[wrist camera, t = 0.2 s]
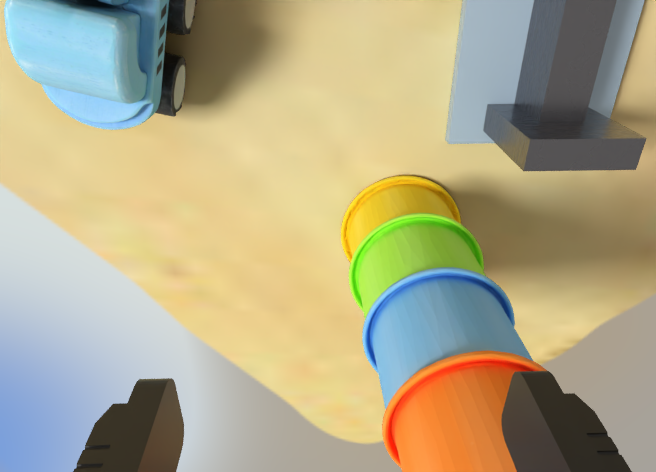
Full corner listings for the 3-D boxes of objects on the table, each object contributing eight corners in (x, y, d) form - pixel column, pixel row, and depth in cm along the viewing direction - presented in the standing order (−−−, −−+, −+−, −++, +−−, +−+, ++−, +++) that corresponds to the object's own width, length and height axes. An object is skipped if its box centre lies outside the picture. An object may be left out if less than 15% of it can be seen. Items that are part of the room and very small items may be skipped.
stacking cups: (315, 226, 41) (330, 936, 11) (411, 148, 38) (783, 852, 8) (389, 297, 45) (545, 959, 15) (482, 232, 42) (906, 909, 12)
